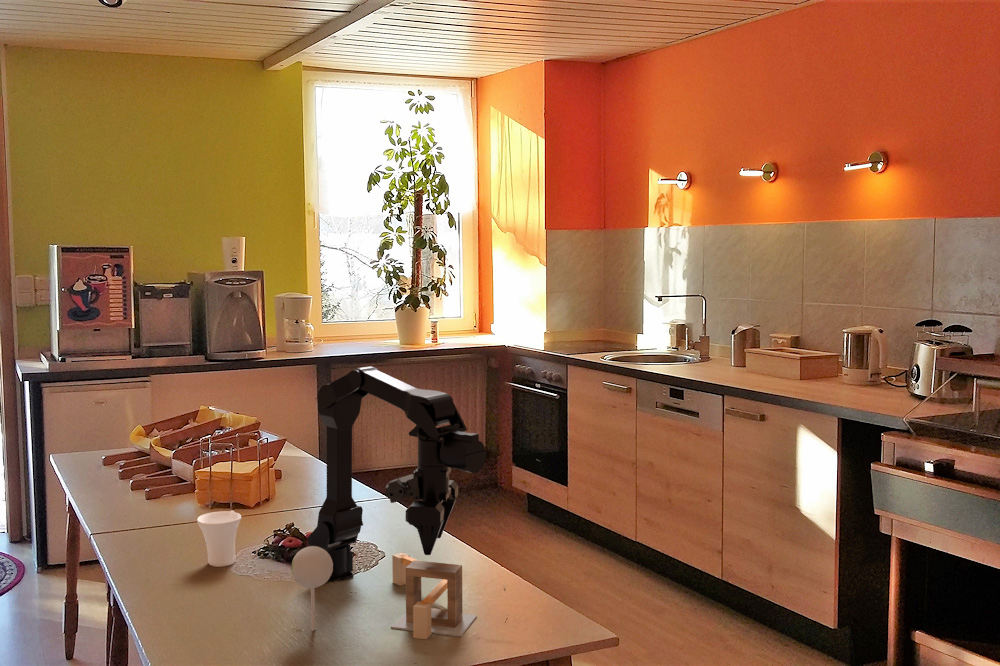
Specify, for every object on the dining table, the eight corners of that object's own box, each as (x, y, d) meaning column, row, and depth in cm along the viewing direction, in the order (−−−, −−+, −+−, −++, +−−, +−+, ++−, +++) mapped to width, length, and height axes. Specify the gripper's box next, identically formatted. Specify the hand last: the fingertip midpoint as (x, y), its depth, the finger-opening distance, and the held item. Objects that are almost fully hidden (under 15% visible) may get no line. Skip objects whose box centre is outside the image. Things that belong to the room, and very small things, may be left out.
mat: (409, 608, 182) (409, 607, 182) (476, 616, 179) (476, 615, 179) (390, 628, 174) (390, 626, 174) (461, 636, 170) (461, 635, 170)
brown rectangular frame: (414, 613, 180) (413, 560, 178) (462, 619, 177) (462, 565, 176) (406, 622, 176) (405, 567, 175) (455, 628, 173) (454, 572, 172)
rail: (417, 641, 168) (417, 609, 168) (358, 587, 193) (357, 560, 192) (485, 626, 175) (485, 595, 174) (420, 576, 199) (419, 549, 199)
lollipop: (295, 622, 176) (293, 541, 174) (335, 621, 177) (334, 540, 175) (290, 639, 169) (288, 554, 167) (332, 638, 170) (330, 553, 168)
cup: (252, 558, 210) (251, 512, 209) (222, 572, 201) (221, 524, 200) (219, 552, 214) (217, 507, 212) (189, 565, 205) (187, 519, 204)
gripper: (401, 448, 189) (401, 527, 191) (376, 474, 171) (376, 561, 173) (459, 451, 188) (458, 530, 190) (440, 477, 169) (439, 565, 171)
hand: (432, 546), depth 181 cm, fingers open, 9 cm apart
